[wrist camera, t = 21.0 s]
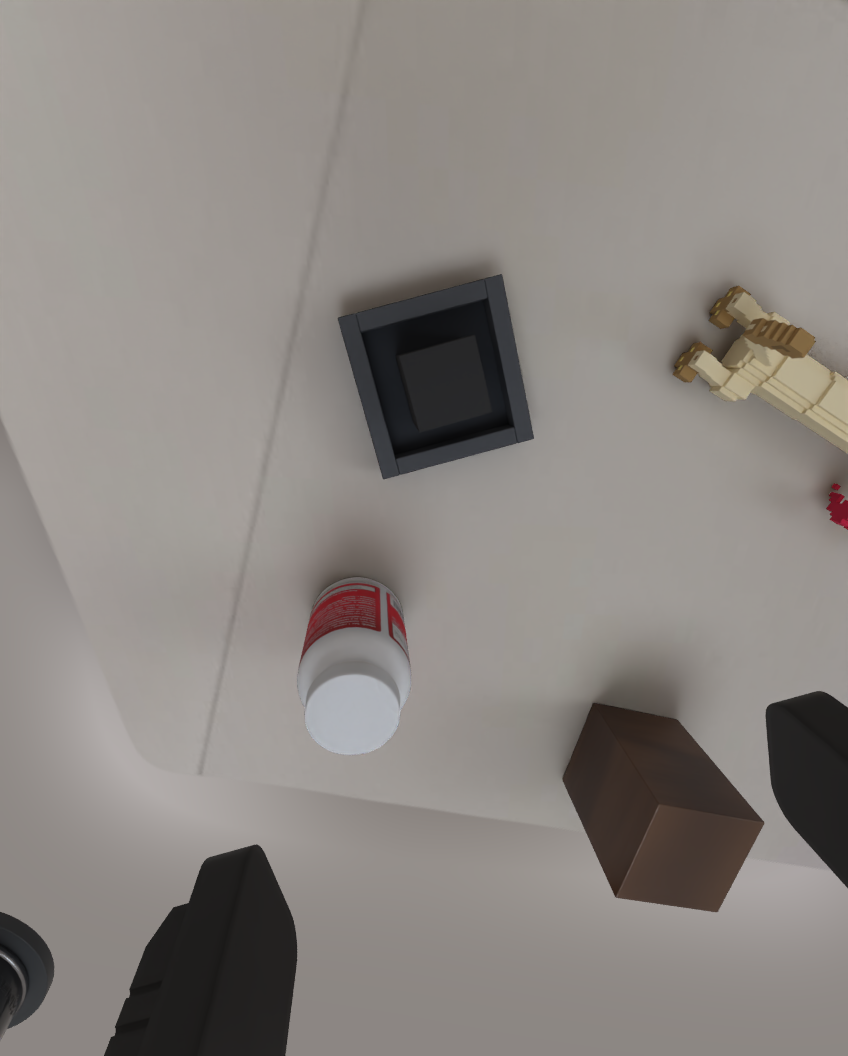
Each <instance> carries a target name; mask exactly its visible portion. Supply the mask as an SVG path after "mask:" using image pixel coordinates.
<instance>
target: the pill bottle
mask: <svg viewBox="0 0 848 1056" xmlns="http://www.w3.org/2000/svg"><path fill="white" fill-rule="evenodd" d="M297 688H298V693H299V696H300V699H301V702H302V704H303V706H304V707H305V723H306V727H307V730H308V732H309V733H310V735H311V737H312V738H313V739H314V740H315V741H316V742H317V743H318V744H319V745H320V746H322V747H323V748H325V749H327V750H329V751H331V752H334V753H337V754H342V755H359V754H364V753H368V752H371V751H373V750H375V749H377V748H379V747H380V746H382V745H383V744H385V743H386V742H387V741H388V740H389V739H390V738H391V737H392V735H393V734H394V732H395V731H396V729H397V727H398V724H399V720H400V710H401V709H402V707H403V706H404V704H405V702H406V700H407V698H408V696H409V692H410V688H411V668H410V660H409V653H408V646H407V639H406V631H405V624H404V616H403V612H402V608H401V605H400V603H399V601H398V599H397V598H396V596H395V595H394V594H393V592H392V591H391V590H390V589H388V588H387V587H386V586H384V585H383V584H381V583H379V582H377V581H375V580H372V579H368V578H360V577H352V578H347V579H343V580H340V581H338V582H335V583H334V584H332V585H330V586H329V587H327V588H326V589H325V590H324V591H323V592H322V593H321V594H320V595H319V597H318V598H317V600H316V601H315V603H314V606H313V608H312V611H311V615H310V620H309V624H308V628H307V633H306V637H305V642H304V646H303V651H302V655H301V660H300V663H299V669H298V675H297Z"/></svg>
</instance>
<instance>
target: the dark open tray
mask: <svg viewBox="0 0 848 1056" xmlns="http://www.w3.org/2000/svg"><path fill="white" fill-rule="evenodd" d="M338 321H339V325H340V328H341V332H342V335H343V339H344V342H345V346H346V349H347V353H348V356H349V360H350V364H351V367H352V371H353V374H354V378H355V381H356V385H357V388H358V392H359V395H360V399H361V402H362V406H363V409H364V413H365V417H366V420H367V424H368V427H369V431H370V434H371V438H372V441H373V445H374V448H375V452H376V455H377V459H378V462H379V466H380V470H381V473H382V477H383V479H387V478H391V477H394V476H398V475H399V474H405V473H409V472H412V471H416V470H420V469H423V468H427V467H431V466H435V465H438V464H442V463H446V462H449V461H453V460H457V459H460V458H464V457H468V456H472V455H475V454H479V453H483V452H486V451H490V450H494V449H498V448H501V447H505V446H509V445H512V444H516V443H520V442H524V441H528V440H531V439H534V436H533V431H532V426H531V421H530V416H529V411H528V405H527V400H526V395H525V390H524V385H523V380H522V375H521V370H520V364H519V359H518V354H517V349H516V344H515V339H514V334H513V329H512V323H511V318H510V313H509V308H508V303H507V298H506V293H505V288H504V282H503V277H502V274H500V275H496V276H493V277H489V278H485V279H482V280H478V281H474V282H470V283H467V284H463V285H459V286H455V287H452V288H448V289H444V290H440V291H437V292H433V293H429V294H425V295H422V296H418V297H414V298H410V299H407V300H403V301H399V302H395V303H392V304H388V305H384V306H380V307H377V308H373V309H369V310H365V311H362V312H358V313H356V314H355V313H354V314H350V315H347V316H343V317H339V318H338ZM471 335H475V337H476V341H477V346H478V350H479V355H480V359H481V363H482V368H483V372H484V377H485V381H486V386H487V390H488V395H489V399H490V404H491V408H492V412H491V413H488V414H484V415H481V416H477V417H473V418H470V419H466V420H463V421H459V422H456V423H452V424H448V425H445V426H441V427H438V428H434V429H431V430H427V431H423V432H419V431H418V429H417V428H416V426H415V425H414V423H413V421H412V417H411V413H410V409H409V406H408V402H407V398H406V394H405V391H404V387H403V383H402V380H401V376H400V372H399V368H398V365H397V361H396V356H397V355H401V354H405V353H408V352H412V351H415V350H419V349H423V348H426V347H430V346H433V345H437V344H440V343H444V342H448V341H451V340H455V339H458V338H462V337H466V336H471Z"/></svg>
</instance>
